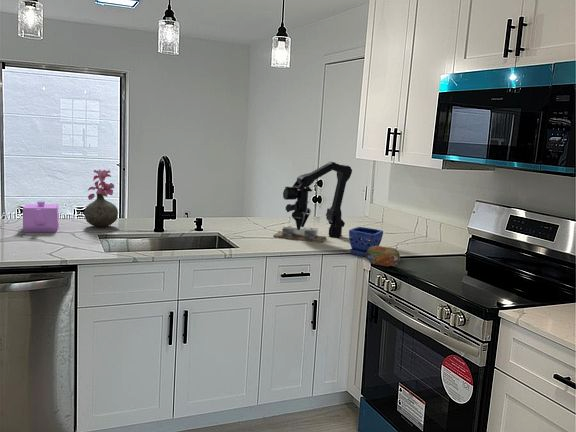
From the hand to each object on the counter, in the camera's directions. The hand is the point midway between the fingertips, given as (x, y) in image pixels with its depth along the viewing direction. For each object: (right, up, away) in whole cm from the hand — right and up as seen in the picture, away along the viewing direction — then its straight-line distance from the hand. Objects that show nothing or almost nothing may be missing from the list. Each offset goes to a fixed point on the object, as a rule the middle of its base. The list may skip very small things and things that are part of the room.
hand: (300, 228), depth 287 cm
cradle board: (0, -5, +1) cm, 5 cm away
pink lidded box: (-130, 0, -19) cm, 131 cm away
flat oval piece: (+36, -15, -47) cm, 61 cm away
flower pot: (+30, -12, -28) cm, 43 cm away
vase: (-105, +1, -4) cm, 106 cm away
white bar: (0, -2, 0) cm, 3 cm away
